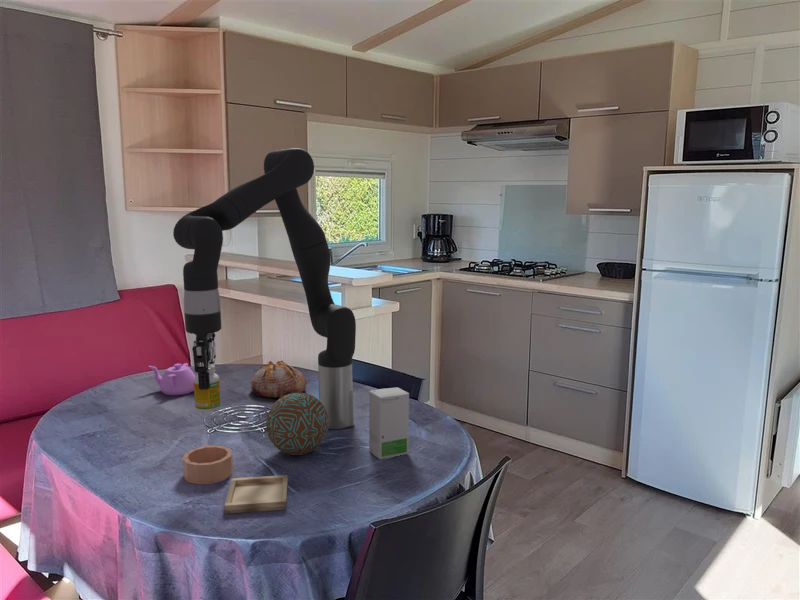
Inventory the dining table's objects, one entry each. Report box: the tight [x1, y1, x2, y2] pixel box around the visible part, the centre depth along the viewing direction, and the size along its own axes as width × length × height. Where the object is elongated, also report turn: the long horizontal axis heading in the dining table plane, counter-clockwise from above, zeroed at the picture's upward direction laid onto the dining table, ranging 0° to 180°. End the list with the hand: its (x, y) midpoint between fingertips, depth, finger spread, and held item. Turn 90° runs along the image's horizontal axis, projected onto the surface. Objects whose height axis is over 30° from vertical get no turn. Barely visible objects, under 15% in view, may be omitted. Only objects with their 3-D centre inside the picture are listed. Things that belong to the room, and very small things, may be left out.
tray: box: [224, 474, 289, 515], centre depth 131 cm, size 12×12×2 cm
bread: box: [250, 360, 307, 399], centre depth 201 cm, size 16×20×10 cm
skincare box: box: [368, 387, 410, 460], centre depth 153 cm, size 8×7×16 cm
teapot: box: [148, 362, 198, 396], centre depth 200 cm, size 12×14×9 cm
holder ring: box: [182, 444, 234, 485], centre depth 142 cm, size 10×10×4 cm
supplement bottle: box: [193, 363, 221, 413], centre depth 138 cm, size 5×5×10 cm
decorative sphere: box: [265, 392, 329, 456], centre depth 153 cm, size 15×15×15 cm
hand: (206, 384), depth 138 cm, fingers closed on supplement bottle, 5 cm apart
